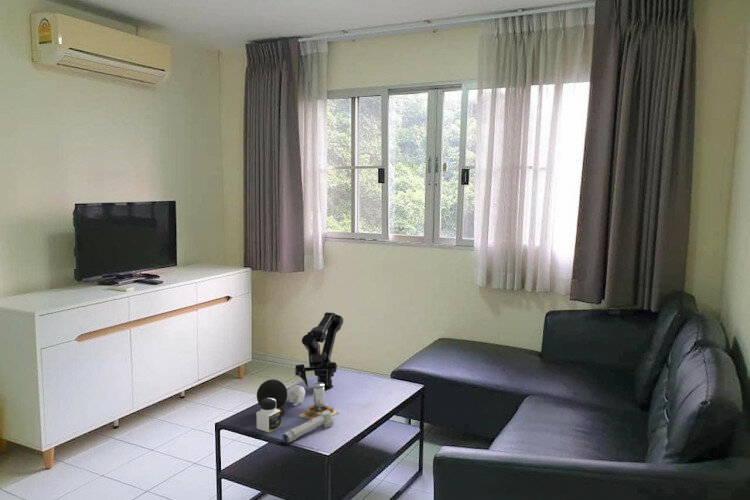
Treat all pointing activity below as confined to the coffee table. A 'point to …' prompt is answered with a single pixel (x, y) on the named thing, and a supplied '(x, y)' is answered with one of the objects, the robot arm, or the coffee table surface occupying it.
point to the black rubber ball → (273, 393)
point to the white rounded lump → (296, 394)
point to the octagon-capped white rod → (309, 426)
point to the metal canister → (319, 397)
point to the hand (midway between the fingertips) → (317, 386)
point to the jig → (312, 414)
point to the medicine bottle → (268, 416)
